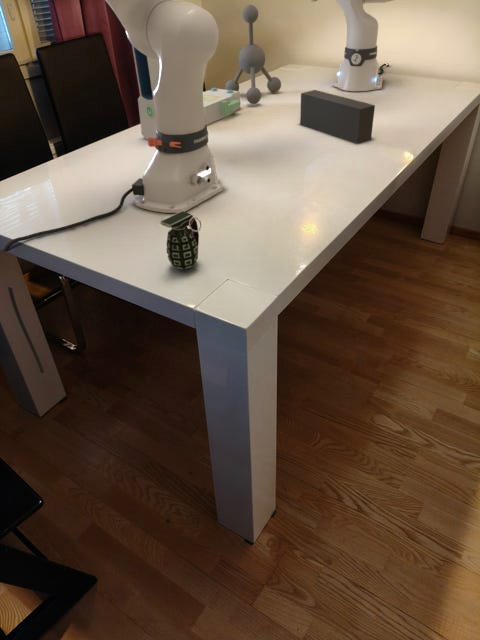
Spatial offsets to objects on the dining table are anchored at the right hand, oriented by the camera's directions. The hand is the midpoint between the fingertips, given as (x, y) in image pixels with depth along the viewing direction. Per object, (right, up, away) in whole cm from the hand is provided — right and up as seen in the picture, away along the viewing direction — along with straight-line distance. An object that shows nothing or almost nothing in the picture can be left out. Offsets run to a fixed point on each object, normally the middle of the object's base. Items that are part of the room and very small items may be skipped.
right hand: (330, 0), depth 143 cm
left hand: (-17, -16, -26) cm, 34 cm away
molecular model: (-20, -7, +45) cm, 50 cm away
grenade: (-37, -84, -51) cm, 105 cm away
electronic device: (-51, -37, +10) cm, 63 cm away
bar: (+3, -36, +7) cm, 36 cm away
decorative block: (-38, -22, +28) cm, 52 cm away
